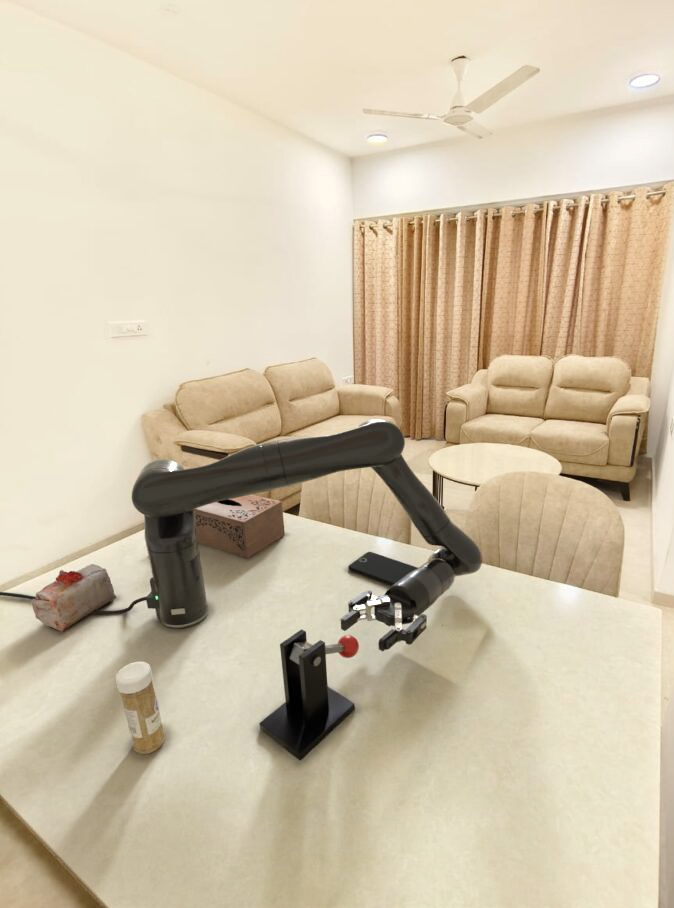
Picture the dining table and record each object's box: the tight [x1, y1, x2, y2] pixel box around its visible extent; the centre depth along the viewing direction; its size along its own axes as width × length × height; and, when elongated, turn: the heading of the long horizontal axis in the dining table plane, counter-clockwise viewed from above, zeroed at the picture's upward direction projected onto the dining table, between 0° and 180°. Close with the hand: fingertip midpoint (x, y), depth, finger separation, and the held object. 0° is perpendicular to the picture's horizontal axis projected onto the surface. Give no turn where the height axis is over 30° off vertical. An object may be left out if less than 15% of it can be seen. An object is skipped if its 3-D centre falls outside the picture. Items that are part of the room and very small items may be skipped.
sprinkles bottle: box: [115, 661, 166, 755], centre depth 73 cm, size 5×5×14 cm
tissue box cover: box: [194, 494, 286, 559], centre depth 135 cm, size 26×14×10 cm, turn 61°
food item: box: [29, 563, 117, 632], centre depth 103 cm, size 14×8×10 cm, turn 154°
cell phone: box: [347, 551, 419, 586], centre depth 118 cm, size 9×18×1 cm, turn 55°
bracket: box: [258, 629, 356, 762], centre depth 76 cm, size 12×9×15 cm
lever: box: [290, 634, 360, 664], centre depth 78 cm, size 14×4×4 cm, turn 142°
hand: (360, 636), depth 85 cm, fingers open, 8 cm apart
